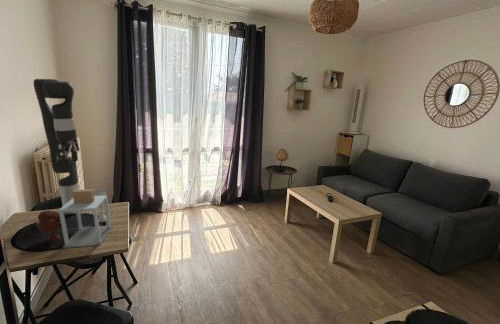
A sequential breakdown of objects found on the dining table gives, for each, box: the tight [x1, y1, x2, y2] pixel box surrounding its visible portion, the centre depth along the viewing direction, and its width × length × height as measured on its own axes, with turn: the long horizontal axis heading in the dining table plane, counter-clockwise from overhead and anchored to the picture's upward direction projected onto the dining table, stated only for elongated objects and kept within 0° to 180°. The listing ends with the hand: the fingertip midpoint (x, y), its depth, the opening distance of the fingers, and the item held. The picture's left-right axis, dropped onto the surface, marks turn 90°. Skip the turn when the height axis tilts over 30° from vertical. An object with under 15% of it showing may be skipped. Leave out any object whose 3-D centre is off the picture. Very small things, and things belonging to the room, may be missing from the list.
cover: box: [58, 188, 112, 245], centre depth 122 cm, size 15×15×24 cm
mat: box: [61, 224, 114, 249], centre depth 126 cm, size 18×16×1 cm
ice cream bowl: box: [35, 210, 62, 243], centre depth 121 cm, size 11×11×15 cm
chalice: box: [92, 187, 107, 223], centre depth 139 cm, size 7×7×18 cm
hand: (71, 163), depth 116 cm, fingers open, 8 cm apart
